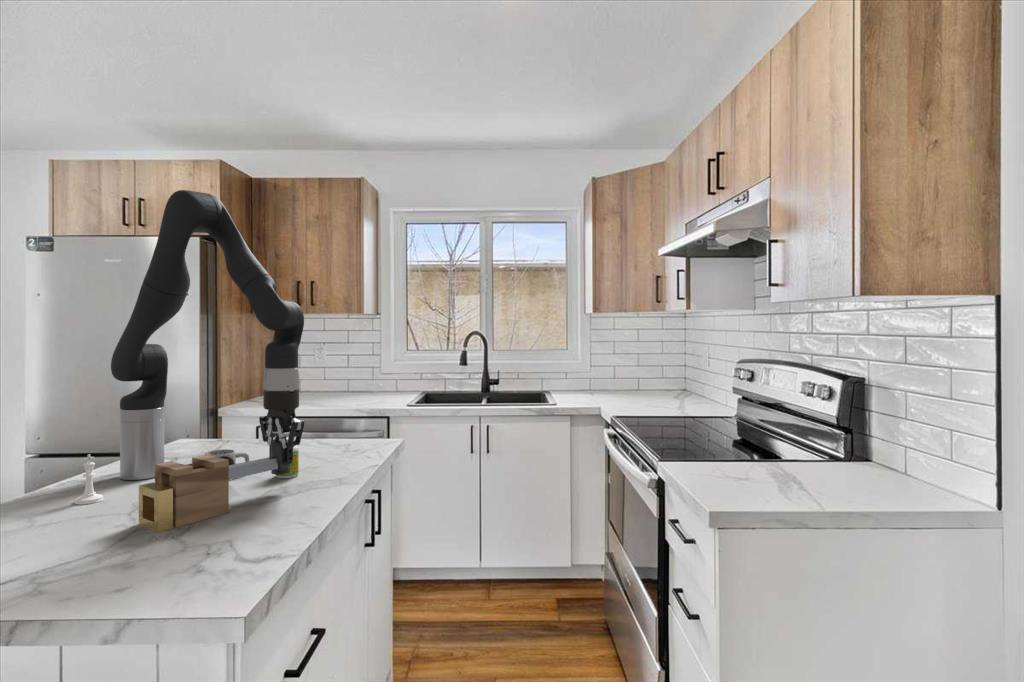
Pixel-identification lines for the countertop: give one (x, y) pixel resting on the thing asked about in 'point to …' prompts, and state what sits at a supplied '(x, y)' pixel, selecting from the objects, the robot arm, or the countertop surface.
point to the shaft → (261, 464)
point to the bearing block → (196, 488)
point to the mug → (228, 455)
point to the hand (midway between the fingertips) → (281, 462)
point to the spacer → (156, 506)
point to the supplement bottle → (292, 464)
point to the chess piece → (89, 485)
